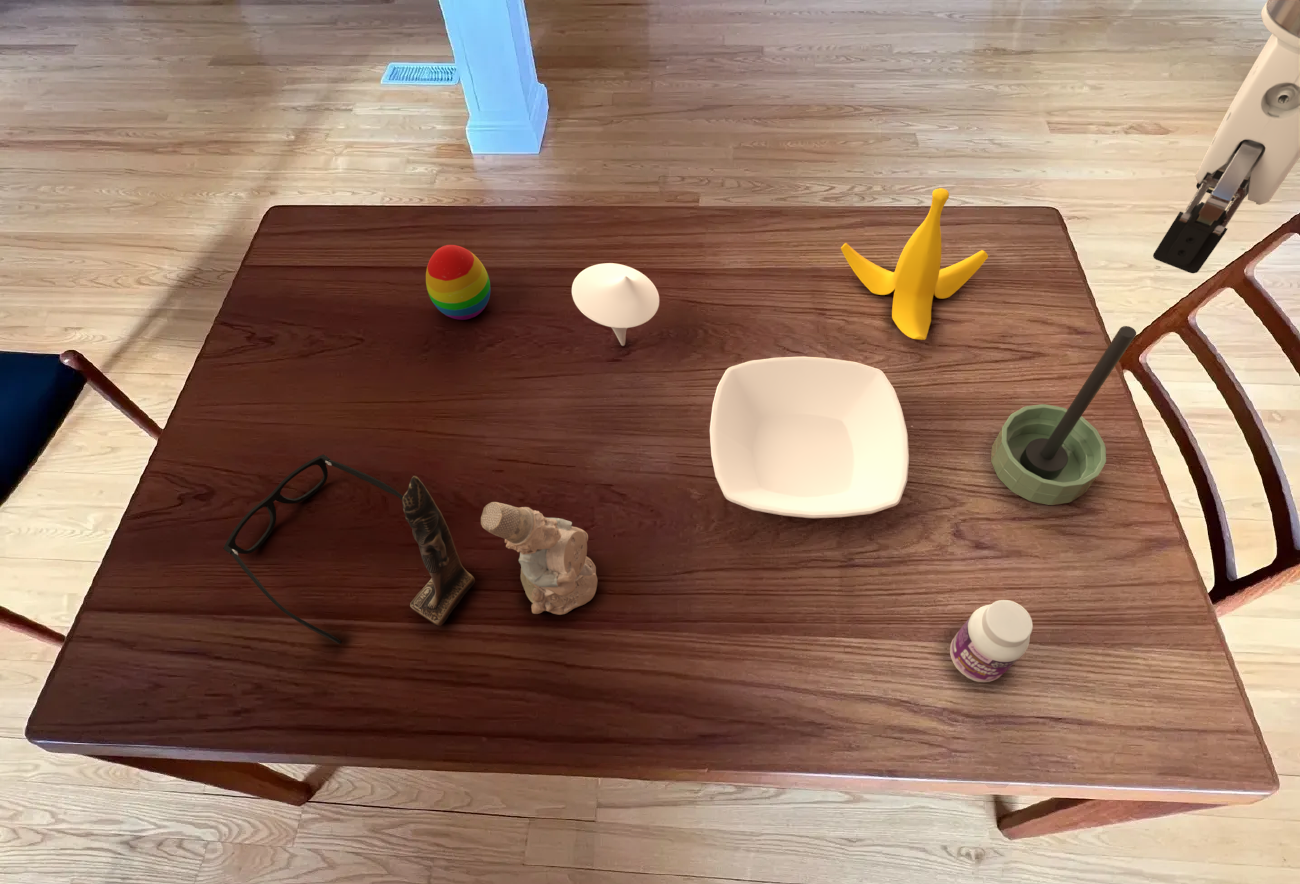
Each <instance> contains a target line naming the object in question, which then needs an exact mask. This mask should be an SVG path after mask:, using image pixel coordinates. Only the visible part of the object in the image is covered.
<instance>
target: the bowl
mask: <svg viewBox="0 0 1300 884" xmlns="http://www.w3.org/2000/svg"><path fill="white" fill-rule="evenodd" d="M908 435H909V434H908V430H907V426H906V420H905V417H904V412H903V409H902V406H901V403H900V400H899V397H898V395H897V392H896V390H895V388H894V386H893V385H892V383H891V382H890V380H889V378H888V377H887V376H886V373H884V371H882V370H881V369H879V368H876V367H873V366H870V365H867V364H864V363H861V362H857V361H852V360H851V361H850V360H845V359H838V358H832V357H831V358H830V357H816V356H785V357H784V356H783V357H781V356H779V357H771V358H769V357H768V358H763V359H762V358H761V359H751V360H748V361H745V362H742V363H739V364H738V363H737V364H735V365H732V366H729V367H728V368H727V369H725V372H724V373H723V375H722V377H721V378H720V381H719V383H718V384H717V386H716V389H715V394H714V398H713V402H712V405H711V414H710V423H709V440H710V455H711V461H712V462H711V463H712V465H713V471H714V477H715V479H716V481H717V484H718V485H719V488H720V490H721V492H722V494H723V497H724V498H725V499H726V500H727V501H729V502H731V503H733V504H736V505H739V506H741V507H744V508H746V509H748V510H751V511H755V512H762V513H768V514H771V515H772V514H773V515H779V516H784V517H794V518H805V519H829V518H834V519H835V518H847V517H856V516H864V515H872V514H875V513H878V512H881V511H884V510H887V509H890V508H893V507H895V506H897V505H899V504H900V502H901V500H902V496H903V494H904V491H905V488H906V485H907V483H908V476H909V463H910V456H909V455H910V454H909V453H910V452H909V436H908Z"/></svg>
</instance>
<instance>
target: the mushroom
mask: <svg viewBox="0 0 1300 884" xmlns="http://www.w3.org/2000/svg"><path fill="white" fill-rule="evenodd" d="M571 298H572V301H573V302H574V305H575V307H576V308H577V309H578V310H579V312H581V314H583V315H584V316H585V317H586V318H588V319H589V320H591V321H593V322H595V323H597V324H598V325H602V326H605V327H609V328H611V329H612V331H613V333H614V334H615V336H616V339H617V341H618V342H619V343H620V345H621V346H622V347H625V345H626V338H627V337H626V336H627V330H628V329H629V328H634V327H638V326H642V325H643V324H645V323H647V322H649V321H650V320H651V319H652V318H653V317H654V316H655V315H656V313H657V312H658V310H659V307H660V294H659V291H658V289H657V287H656V286H655V284H654V283H653V281H651V279H650V278H648V276H647V275H645V274H643V272H641V271H639V270H638V269H635V268H633V267H631V266H628V265H626V264H625V265H624V264H620V263H613V262H606V263H605V262H604V263H597V264H594V265H591V266H588V267H586V268H585V269H583V270H582V271H580V272H579V273H578V274H577V276H575V278H574V279H573V282H572V285H571Z"/></svg>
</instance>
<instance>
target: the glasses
mask: <svg viewBox="0 0 1300 884" xmlns="http://www.w3.org/2000/svg"><path fill="white" fill-rule="evenodd" d="M327 465H328V466H331V467H333V468H336V469H339V470H341V471H343V472H345V473H347V474H349V475H352V476H354V477H357V478H358V479H360V480H363V481H365V482H366V483H369V484H371V485H373V486H375V487H377V488H379V489H381V490H382V491H385V492H386V493H389V494H391V495H394V496H396V497H397V498H399V499H400V500H401V501H402V499H403V496H404V495H402V494H401V493H400V492H399V491H397V490H396V489H395V488H393V487H392V486H390V485H389V484H386V483H385V482H383V481H381V480H379V479H378V478H376V477H373V476H371V475H369V474H368V473H365V472H363V471H359V470H358V469H355V468H353V467H351V466H348V465H346V464H343V463H340V462H339V461H336V460H332V459H331V458H330V457H329V456H327V455H326V454H324V453H323V454H320V455H318V456H316V457H314V458H313V459H310V460H309V461H307V462H305V463H304V464H302V465H301V466H298V468H296V469H294V470H293V471H292V472H290V473H289V474H288V475H287V476H286V477H284V479H282V481H281V482H280V483H279V484H278V485H277V486H276V487H275V488H274V489H273V491H271V493H270V494H268V495H267V496H266V497H265V498H264V499H262V501H261V502H259V503H257V504H256V505H255V506H254V507H253V508H251V509H250V510H249V511H248V512H247V513H246V514H245V516H243V518H242V519H241V520H240V521H239V522H238V523H237V525H236V526H235V528H234V529H233V530H232V532H231V533H230V535H229V537H228V539H227V540H226V542H225V544H224V545H223V550H224V551H225V552H227V554H230V555H232V557H233V558H234V560H235V561H236V563H237V564H238V565H239V567H240V568H241V569H242V570H243V572H245V574H246V575H247V576H248V577H249V578H250V579H251V581H252V582H253V583H254V584H255V586H257V587H258V589H259V590H260V591H261V592H262V593H263V595H265V597H267V598H268V600H269V601H271V602H272V604H274V605H275V607H277V608H278V609H279V610H280V611H281V612H282V613H284V614H286V615H287V616H289V618H291V619H293V620H295V621H296V622H297V623H299V624H301V625H303V626H304V627H306V628H307V629H309V630H311V631H313V632H314V633H316V634H317V635H318V634H319V635H320V636H322V637H324V638H325V639H328V640H330V641H332V642H334V643H336V644H338V645H341V644H342V641H341V640H340V638H337V637H336V636H334V635H332V634H331V633H328V632H327V631H325V630H323V629H321V628H319V627H317V626H315V625H313V624H311V623H309V622H308V621H305V620H304V619H302V618H301V617H299V616H297V615H295V614H293V613H292V612H291V611H289V610H288V609H287V608H285V607H284V606H283V605H282V604H281V603H279V602H278V600H276V599H275V598H274V597H273V596H272V595H271V593H270V592H269V591H268V590H267V589H266V588H265V587H264V585H263V584H262V583H261V582H260V580H259V579H258V578H257V577H256V576H255V575H254V573H253V572H252V571H251V570H250V569H249V568H248V566H247V565H246V564H245V562H244V561H243V559H242V558H241V557H240V556H239V554H242V555H247V554H248V555H249V554H251V553H254V552H256V551H257V550H258V549H259V548H260V547H261V546H262V545H263V544H264V543H265V542H266V540H268V538H269V536H270V535H271V533H272V532H273V530H274V528H275V526H276V523H277V510H276V506H275V503H274V502H275V501H276V502H278V503H281V504H287V505H293V504H294V505H295V504H299V503H301V502H303V501H306V500H307V499H309V498H310V497H312V496H313V495H314V494H316V493H317V492H319V490H320V489H322V487H323V486H324V485H325V484H326V482H327V480H328V476H329V472H328V467H327ZM312 466H319V468H320V470H321V472H322V478H321V479H320V481H319V482H318V483H317V484H316V485H315V486H314V487H313V488H311V489H310V490H309V491H307V492H306V493H305V494H303V495H301V496H299V497H296V498H291V497H287V496H284V495H283V494H281V492H282V490H283V488H284V487H285V486H286V485H287V484H288V483H289V482H290V481H291V480H292V479H294V478H295V477H296V476H298V475H299V474H301V473H302V472H303V471H305V470H306V469H308V468H311V467H312ZM263 508H266V510H267V512H268V514H269V524H268V526H267V529H266V530H265V532H264V533H263V535H262V536H261V537H260V538H259V539H258V540H257V541H256V543H254V545H252V546H251V547H250V548H248V549H244V548H242V547H240V546H238V545H237V542H236V539H237V537H238V535H239V533H240V531H241V530H242V529H243V527H244V526H245V525H246V523H247V522H248V521H249V520H250V519H251V518H252V517H253V516H254V515H255V514H256V513H257V511H259V510H261V509H263Z"/></svg>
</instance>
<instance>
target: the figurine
mask: <svg viewBox="0 0 1300 884" xmlns="http://www.w3.org/2000/svg"><path fill="white" fill-rule="evenodd" d="M480 525H481V527H482V528H483V529H484V530H485V531H486V532H488V533H490V534H492V535H494V536H496V537H499V538H501V539H504V544H505V548H507V549H508V550H514V551H516V552H517V553H519V557H518V563H519V564H520V567H521V568H520V576H519V577H520V582H521V585H522V587H523V590H524V591H525V596H526V597H527V599H528V600H529V602H531V607H530V608H531V613H532V614H534V615H538V614H541V613H543V612H548V613H551V614H553V615H559V616H561V615H566V614H568V613H569V612H571V611H572V610H574V609H576V608H579V607H581V606H583V605H586V604H587V603H590V601H591V600H592V599H593V598H594V597H595V595H596V592H597V587H598V580H599V579H598V576H597V567H596V565H595V563H594V562H593V560H592V559H591V558H590V557H589V556H587V554H588V541H589V535H588V533H587V532H586V531H585V530H584V529H582V528H580V527H577V526H573V521H571V520H566V519H564V518H559V517H546V516H544V515H543V513H541V512H540V511H539V510H535V509H532V508H531V507H529V506H521V507H517V506H514V505H511V504H507V503H502V502H498V501H491V502H489V503H487V504H485V506H484V507H483V510H482V513H481V516H480Z"/></svg>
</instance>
